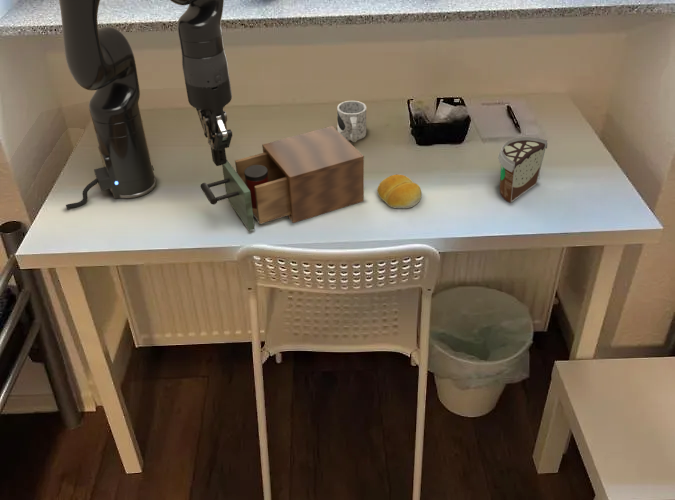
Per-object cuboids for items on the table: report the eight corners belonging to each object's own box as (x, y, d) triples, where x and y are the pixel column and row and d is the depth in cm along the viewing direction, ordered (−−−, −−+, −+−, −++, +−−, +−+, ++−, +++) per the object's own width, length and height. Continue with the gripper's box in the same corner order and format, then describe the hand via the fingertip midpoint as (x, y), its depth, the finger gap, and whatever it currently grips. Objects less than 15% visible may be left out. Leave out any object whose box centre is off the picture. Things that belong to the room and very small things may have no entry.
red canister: (246, 208, 138) (242, 177, 133) (250, 196, 141) (246, 164, 137) (269, 209, 138) (265, 177, 133) (271, 196, 141) (268, 164, 136)
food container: (515, 170, 150) (522, 128, 144) (540, 181, 147) (548, 139, 141) (481, 194, 144) (486, 151, 137) (506, 206, 140) (513, 163, 134)
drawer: (220, 239, 132) (214, 201, 127) (199, 206, 141) (193, 168, 135) (317, 209, 139) (315, 172, 133) (292, 179, 148) (289, 142, 142)
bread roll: (397, 215, 139) (397, 198, 136) (371, 193, 145) (371, 177, 142) (430, 201, 142) (431, 185, 139) (404, 181, 148) (404, 164, 145)
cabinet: (293, 223, 137) (289, 177, 131) (266, 188, 147) (262, 144, 140) (363, 201, 143) (363, 156, 136) (333, 169, 152) (332, 125, 145)
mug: (336, 127, 166) (336, 101, 162) (364, 125, 167) (364, 99, 162) (339, 148, 159) (339, 122, 154) (369, 147, 159) (369, 120, 155)
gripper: (173, 65, 122) (189, 152, 133) (197, 96, 113) (212, 186, 124) (214, 56, 125) (227, 142, 136) (241, 85, 116) (252, 174, 127)
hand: (220, 163), depth 130 cm, fingers closed
